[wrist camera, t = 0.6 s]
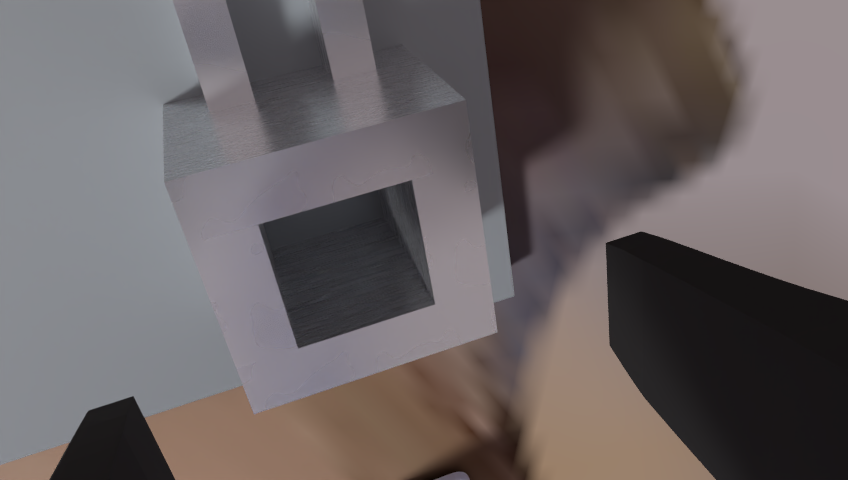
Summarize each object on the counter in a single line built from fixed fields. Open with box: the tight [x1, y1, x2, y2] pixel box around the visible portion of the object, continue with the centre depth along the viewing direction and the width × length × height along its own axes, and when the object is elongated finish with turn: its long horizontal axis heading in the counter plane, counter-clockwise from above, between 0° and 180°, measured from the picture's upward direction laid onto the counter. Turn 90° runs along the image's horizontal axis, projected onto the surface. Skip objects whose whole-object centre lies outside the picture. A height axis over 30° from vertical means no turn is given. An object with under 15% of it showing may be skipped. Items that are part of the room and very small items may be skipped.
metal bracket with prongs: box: [163, 0, 497, 414], centre depth 15 cm, size 8×5×4 cm, turn 9°
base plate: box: [0, 0, 514, 465], centre depth 13 cm, size 20×16×5 cm
